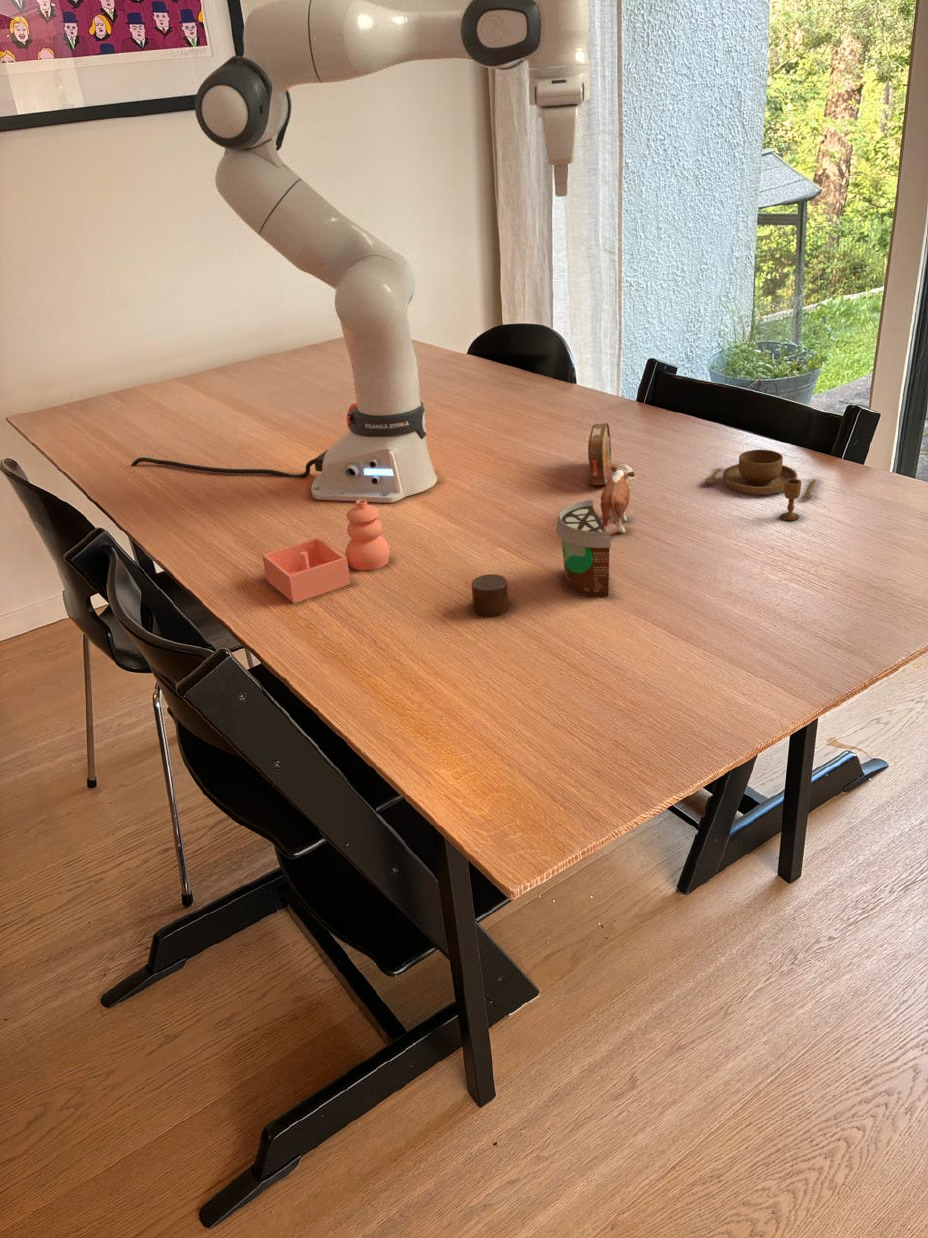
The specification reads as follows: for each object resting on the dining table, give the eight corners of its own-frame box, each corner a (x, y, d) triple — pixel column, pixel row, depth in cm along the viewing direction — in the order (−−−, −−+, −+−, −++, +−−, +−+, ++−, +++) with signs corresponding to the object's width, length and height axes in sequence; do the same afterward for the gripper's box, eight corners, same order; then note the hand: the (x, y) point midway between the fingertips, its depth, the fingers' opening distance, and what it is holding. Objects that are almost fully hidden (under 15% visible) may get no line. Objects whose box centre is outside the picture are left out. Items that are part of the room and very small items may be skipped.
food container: (551, 566, 145) (548, 502, 140) (592, 562, 145) (592, 498, 140) (565, 605, 134) (563, 537, 129) (610, 600, 134) (610, 533, 130)
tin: (605, 492, 168) (605, 444, 164) (586, 492, 169) (586, 444, 165) (612, 461, 181) (612, 416, 177) (594, 461, 182) (594, 416, 178)
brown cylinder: (472, 617, 133) (470, 590, 131) (474, 600, 137) (473, 574, 135) (507, 616, 133) (506, 590, 131) (509, 599, 137) (508, 573, 135)
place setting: (820, 476, 168) (823, 442, 165) (801, 522, 152) (805, 485, 149) (715, 467, 175) (717, 435, 172) (687, 510, 159) (688, 475, 156)
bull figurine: (638, 508, 161) (639, 460, 157) (622, 543, 150) (622, 492, 146) (611, 507, 163) (611, 459, 159) (593, 540, 152) (593, 490, 148)
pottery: (293, 603, 140) (282, 539, 136) (266, 580, 148) (255, 519, 143) (403, 566, 149) (396, 504, 144) (373, 546, 156) (365, 487, 151)
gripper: (538, 89, 155) (541, 186, 161) (536, 93, 137) (539, 201, 143) (579, 86, 154) (580, 183, 161) (582, 89, 136) (583, 198, 143)
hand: (561, 192), depth 152 cm, fingers open, 8 cm apart
